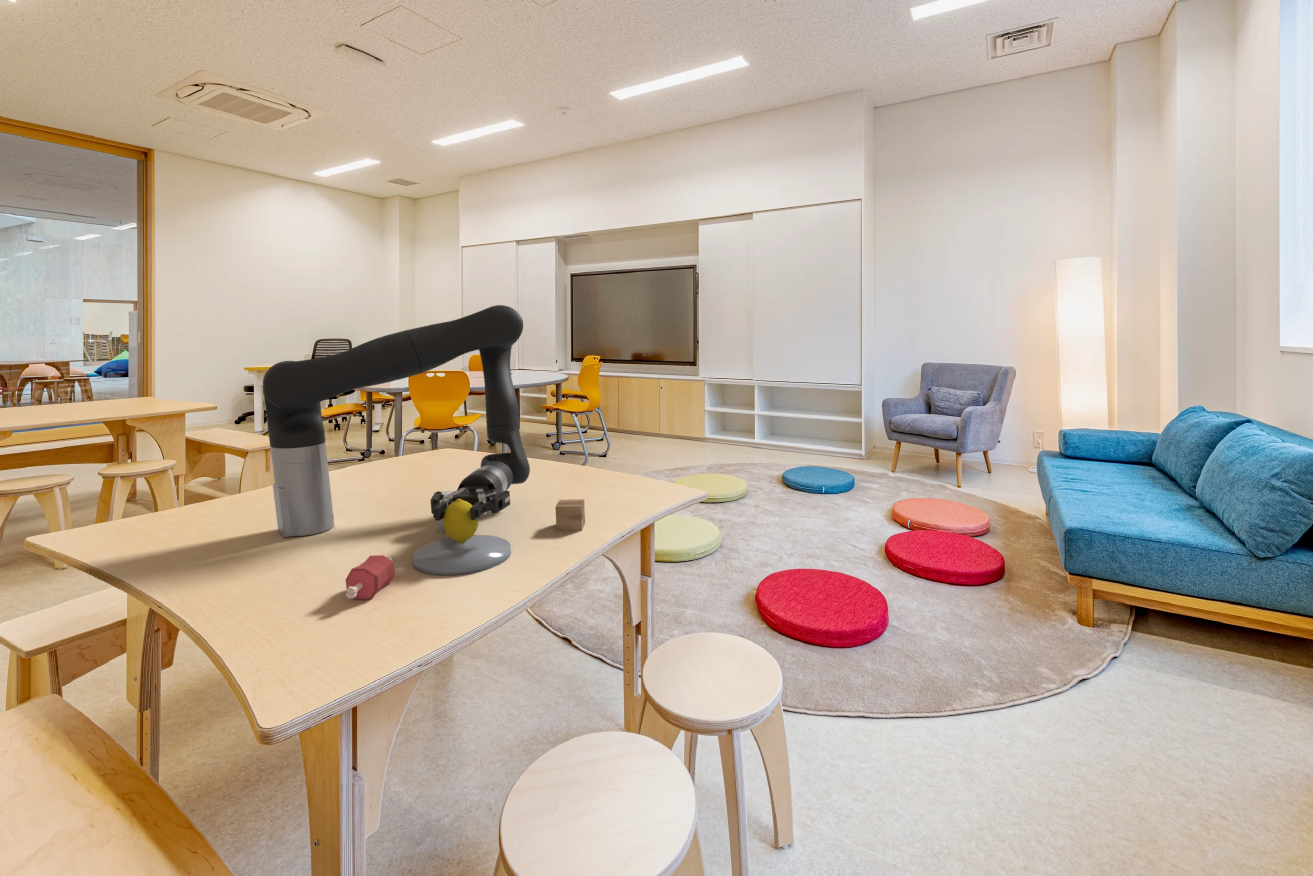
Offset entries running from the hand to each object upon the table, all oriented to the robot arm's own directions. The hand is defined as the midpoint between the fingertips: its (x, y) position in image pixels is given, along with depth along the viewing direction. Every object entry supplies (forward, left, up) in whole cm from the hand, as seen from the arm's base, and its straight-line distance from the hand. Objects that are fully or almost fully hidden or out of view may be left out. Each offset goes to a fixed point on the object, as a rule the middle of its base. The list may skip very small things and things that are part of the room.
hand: (455, 514), depth 98 cm
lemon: (+2, +2, -6) cm, 7 cm away
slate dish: (+2, +2, -8) cm, 9 cm away
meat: (-14, -2, -9) cm, 17 cm away
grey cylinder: (+7, +19, -8) cm, 22 cm away
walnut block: (+25, +3, -8) cm, 26 cm away
